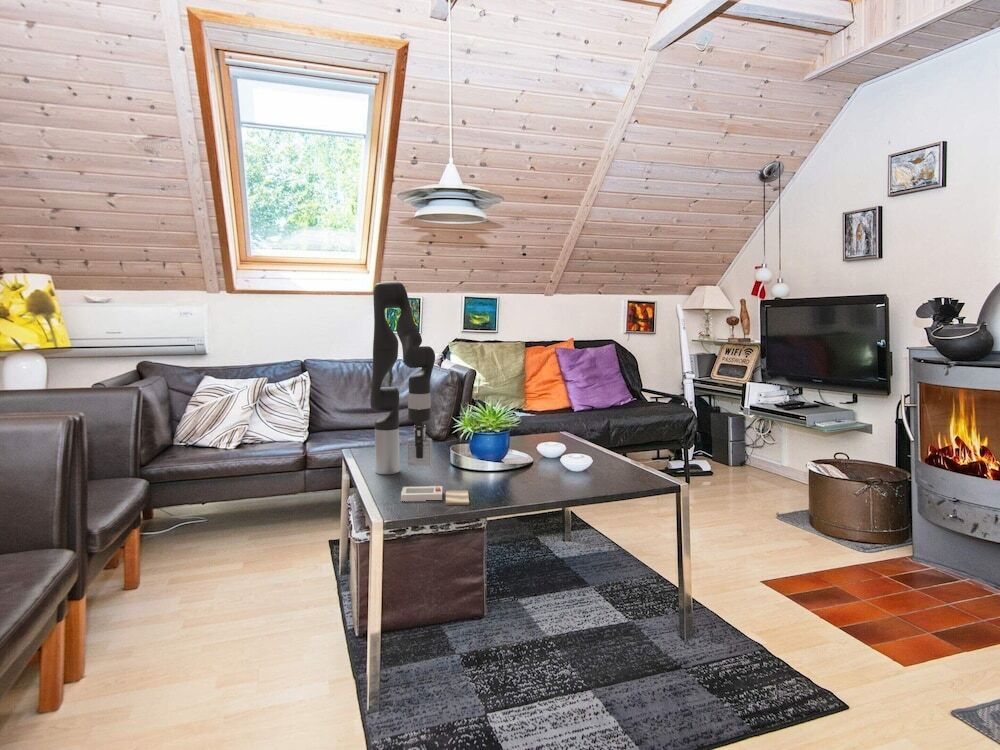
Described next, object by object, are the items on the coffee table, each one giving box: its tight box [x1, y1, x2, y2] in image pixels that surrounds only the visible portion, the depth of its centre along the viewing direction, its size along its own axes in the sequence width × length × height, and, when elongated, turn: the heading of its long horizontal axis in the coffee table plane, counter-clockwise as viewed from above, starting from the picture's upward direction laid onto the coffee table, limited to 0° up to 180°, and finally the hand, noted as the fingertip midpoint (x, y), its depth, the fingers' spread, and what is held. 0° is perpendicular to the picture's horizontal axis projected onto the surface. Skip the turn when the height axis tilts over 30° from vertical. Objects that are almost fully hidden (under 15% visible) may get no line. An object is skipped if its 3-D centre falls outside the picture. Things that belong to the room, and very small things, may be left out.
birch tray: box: [445, 489, 470, 506], centre depth 216 cm, size 14×8×1 cm, turn 5°
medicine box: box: [406, 437, 433, 467], centre depth 217 cm, size 8×4×9 cm, turn 90°
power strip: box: [400, 483, 443, 502], centre depth 223 cm, size 18×14×3 cm
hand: (419, 456), depth 217 cm, fingers closed on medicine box, 4 cm apart
